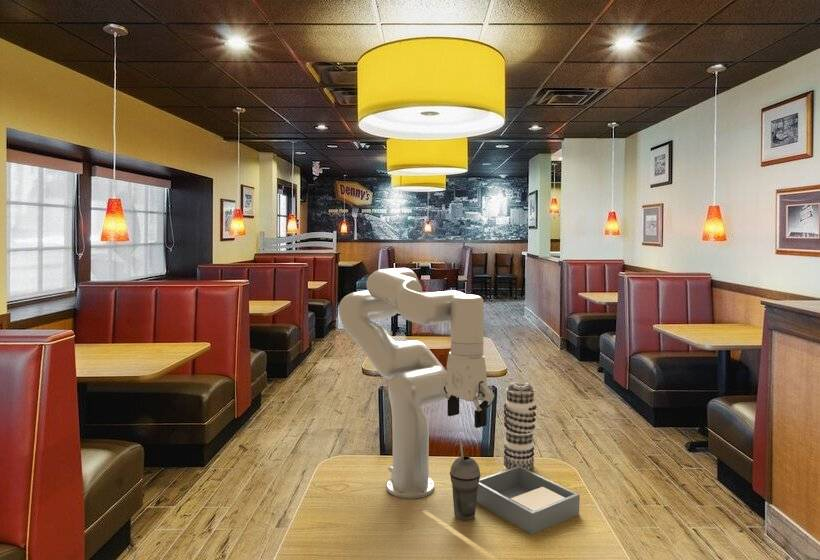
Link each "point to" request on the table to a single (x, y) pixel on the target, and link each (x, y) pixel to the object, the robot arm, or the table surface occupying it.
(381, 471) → the table surface
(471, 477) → the beverage cup
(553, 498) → the beige rectangular block
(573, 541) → the table surface
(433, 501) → the table surface
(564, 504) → the tray
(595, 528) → the table surface
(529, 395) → the decorative candle
